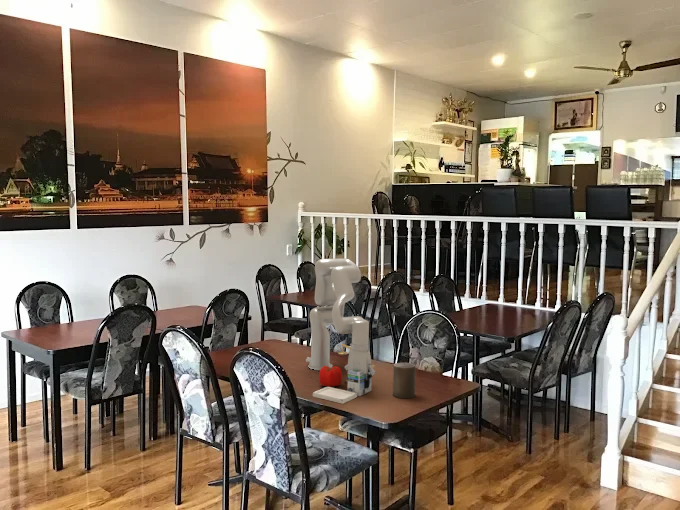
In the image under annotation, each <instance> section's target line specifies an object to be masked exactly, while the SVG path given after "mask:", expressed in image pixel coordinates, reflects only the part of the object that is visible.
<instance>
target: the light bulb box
mask: <svg viewBox="0 0 680 510" xmlns="http://www.w3.org/2000/svg"><path fill="white" fill-rule="evenodd" d="M369 374H371V372H369ZM347 380H348V384H347V391H350V392H354V393H357V397H361V396H363V395H365V394H367V393H369V392H371V391H372V378H371V379H370V385H369V388H366V389H365V388H364V380H365V377H364V374H363V372H362V371H358V370H353V369H350V370H348V373H347Z"/></svg>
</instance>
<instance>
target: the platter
mask: <svg viewBox="0 0 680 510" xmlns="http://www.w3.org/2000/svg"><path fill="white" fill-rule="evenodd" d="M312 397H313V398H317V399H320V400H321V399H323V400H326V401H330V402H334V403H338V404H346V403H347V402H349V401H352V400H354V399H355V398H357V397H358V396H357V393H354V392H350V391H348V390H345V389H341V388H335V387H327V386H326V387H323V388H321V389H318V390H316V391H314V392H312Z"/></svg>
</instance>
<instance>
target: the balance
mask: <svg viewBox="0 0 680 510" xmlns="http://www.w3.org/2000/svg"><path fill="white" fill-rule="evenodd" d="M341 346H342V347H341V349H342V351H337V354H338V356H339V355H340V356H344V355H349V353H348V352H347V351H344V348H346V349H348V350H349V351H350V350H351V349H352V347H351V346H350V345H347V344H345V343H342V344H341ZM371 367H372V368H373V369H374V368H375V367H376V366H375V365H374V364H373V362H372V361H371ZM346 383H347V384H346ZM344 384H346V385H348V379H346V380H344Z"/></svg>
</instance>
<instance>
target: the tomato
mask: <svg viewBox="0 0 680 510" xmlns="http://www.w3.org/2000/svg"><path fill="white" fill-rule="evenodd" d="M342 381H343V371H342V369H341V368H340V367H339V366H336V365H333V366H332V368H329V367H328V366H323V367H322V368H321V369H320V370H319V372H318V382H319V384H320V385H321V386H322V387H324V386H325V387H332V388H334V387H340V385H341V384H342V383H343V382H342ZM325 387H324V388H325Z"/></svg>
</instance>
